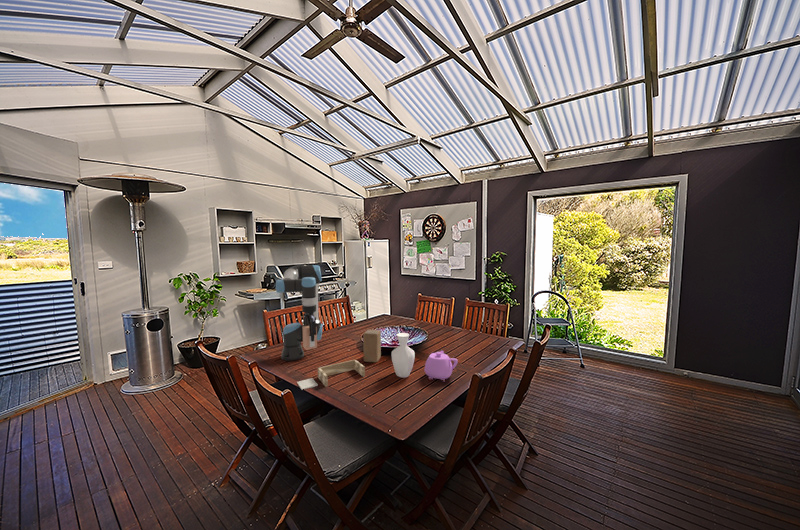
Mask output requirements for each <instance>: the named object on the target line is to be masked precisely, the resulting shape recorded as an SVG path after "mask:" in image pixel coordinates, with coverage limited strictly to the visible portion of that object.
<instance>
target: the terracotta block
mask: <svg viewBox="0 0 800 530" xmlns="http://www.w3.org/2000/svg"><path fill="white" fill-rule="evenodd" d="M309 335H310V328H309V326H303V342H302V348H304V349H305V350H306V351H309V350H313V349H317V348H318V340H317V327H316V335H315V346H314V347H310V341H309Z"/></svg>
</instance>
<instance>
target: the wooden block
mask: <svg viewBox="0 0 800 530" xmlns="http://www.w3.org/2000/svg"><path fill="white" fill-rule="evenodd" d="M381 334H382V333H381V330H380V329H369V328H368V329H367V330H366V331H364V332H363V335H362V336H363V337H362V338H363V343H362V345H363V347H362V348H363V350H362V351H363V362H365V363H378V362H379V361H380V359H381V357H382V356H381V355H382V351H381V350H382V346H381V345H382V344H381V343H382V342H381V339H382V335H381Z"/></svg>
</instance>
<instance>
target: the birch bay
mask: <svg viewBox="0 0 800 530" xmlns="http://www.w3.org/2000/svg"><path fill="white" fill-rule="evenodd" d="M349 371H355V372H357V373H358V374H359V375H361V377H363V378H364V377H366V366H365V365H363V364H362V363H360V362H359V361H358V360H357V359H354V358H353V359H351V360H346V361H343V362H341V361H340V362H338V363H333V364H329V365H324V366H320V367H317V378H318V379H319V381H320V382H321V383H322V385H323V386H324V387H325V388H326V387H328V385H329V383H328V382H329V381H328V379H329V378H328V377H329V376H335V375H337V374H341V373H345V372H346V373H347V372H349Z"/></svg>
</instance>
